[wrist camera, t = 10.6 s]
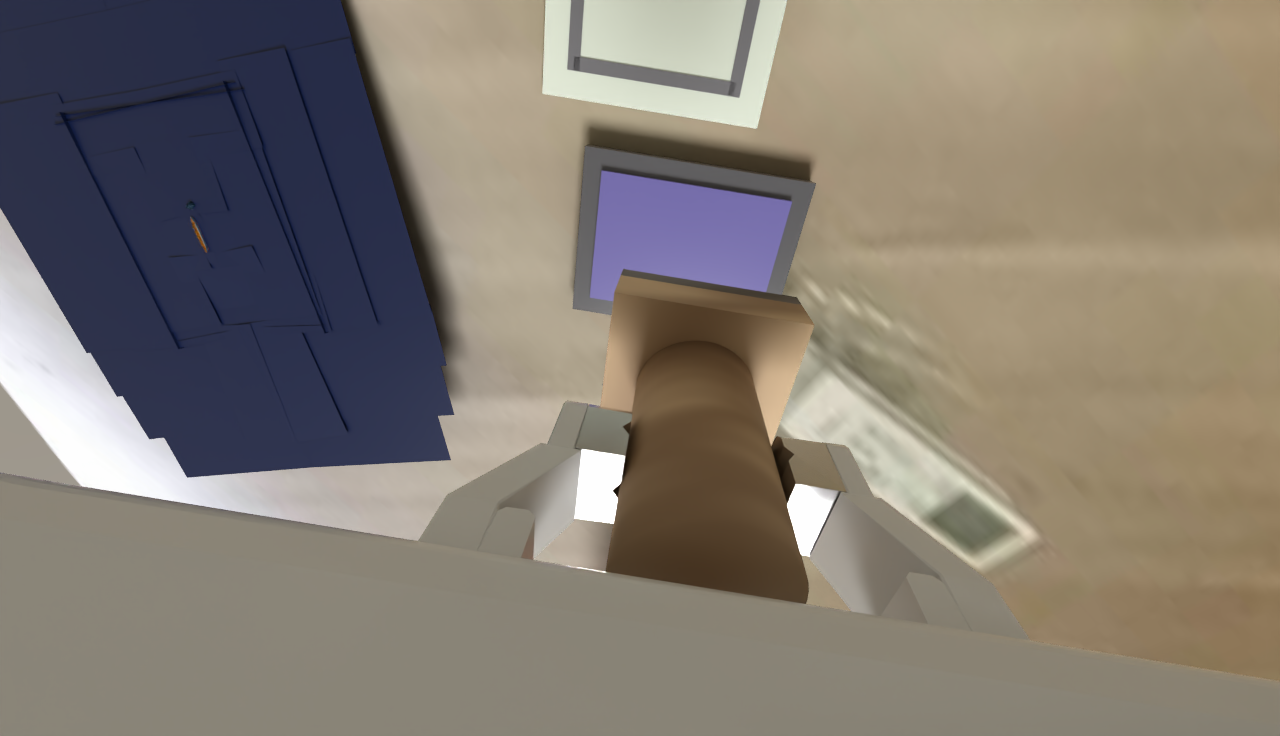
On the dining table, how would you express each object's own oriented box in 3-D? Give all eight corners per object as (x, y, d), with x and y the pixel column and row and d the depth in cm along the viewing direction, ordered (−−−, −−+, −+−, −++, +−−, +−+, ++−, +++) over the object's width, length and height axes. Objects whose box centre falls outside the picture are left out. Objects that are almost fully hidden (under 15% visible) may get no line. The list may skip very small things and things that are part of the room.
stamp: (796, 297, 13) (929, 504, 6) (751, 436, 16) (809, 698, 9) (623, 268, 13) (557, 443, 6) (604, 412, 16) (542, 655, 9)
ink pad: (810, 180, 25) (817, 184, 23) (764, 332, 29) (768, 342, 28) (589, 144, 25) (584, 146, 23) (576, 301, 29) (571, 310, 28)
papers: (200, 458, 36) (151, 486, 33) (-51, -4, 26) (-163, -32, 22) (493, 437, 33) (471, 465, 30) (345, -99, 23) (285, -148, 19)
